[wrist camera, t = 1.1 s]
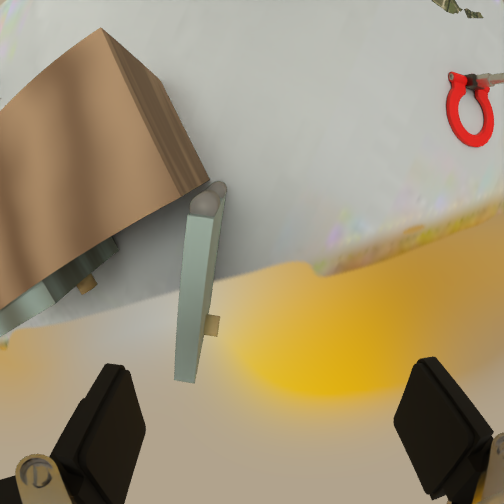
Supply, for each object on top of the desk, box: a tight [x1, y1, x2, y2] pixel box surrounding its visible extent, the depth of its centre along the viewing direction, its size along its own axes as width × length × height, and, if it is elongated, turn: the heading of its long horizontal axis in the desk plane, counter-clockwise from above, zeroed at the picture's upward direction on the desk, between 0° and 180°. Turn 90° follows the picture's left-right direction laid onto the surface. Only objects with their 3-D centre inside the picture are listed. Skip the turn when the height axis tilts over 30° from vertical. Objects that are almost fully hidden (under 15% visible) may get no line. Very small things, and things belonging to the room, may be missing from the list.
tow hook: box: [446, 72, 504, 147], centre depth 23 cm, size 8×13×9 cm
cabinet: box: [0, 28, 210, 337], centre depth 23 cm, size 24×15×15 cm, turn 116°
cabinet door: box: [174, 181, 227, 383], centre depth 25 cm, size 13×3×13 cm, turn 171°
